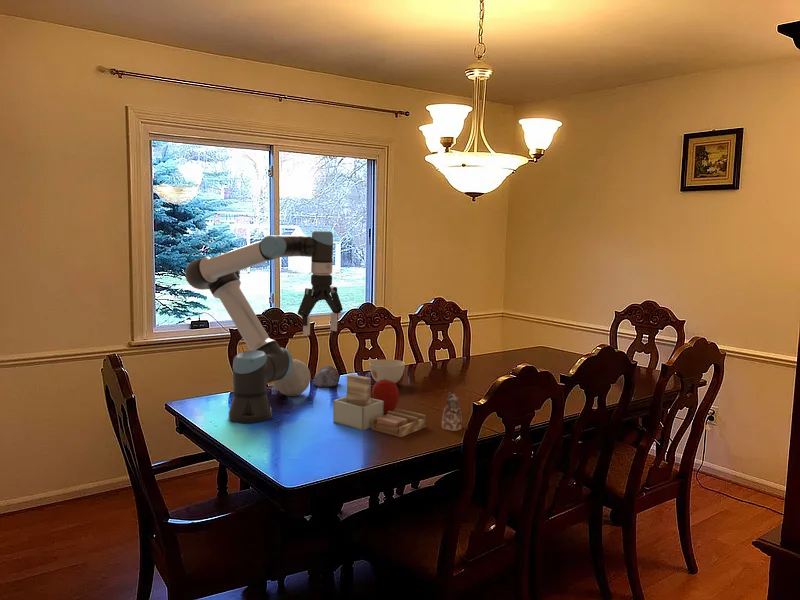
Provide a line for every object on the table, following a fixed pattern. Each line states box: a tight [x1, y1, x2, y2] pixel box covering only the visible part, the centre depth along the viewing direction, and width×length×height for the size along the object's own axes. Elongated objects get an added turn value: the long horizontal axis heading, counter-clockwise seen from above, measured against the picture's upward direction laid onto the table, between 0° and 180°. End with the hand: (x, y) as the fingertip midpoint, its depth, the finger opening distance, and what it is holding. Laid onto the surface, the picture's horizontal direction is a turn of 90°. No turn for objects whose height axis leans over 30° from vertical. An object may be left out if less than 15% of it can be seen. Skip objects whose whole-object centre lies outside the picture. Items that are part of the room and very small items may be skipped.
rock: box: [312, 365, 340, 388], centre depth 273 cm, size 11×10×10 cm
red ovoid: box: [371, 377, 400, 415], centre depth 231 cm, size 10×10×14 cm
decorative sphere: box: [273, 358, 311, 397], centre depth 255 cm, size 15×15×15 cm
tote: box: [332, 396, 384, 431], centre depth 219 cm, size 11×14×8 cm
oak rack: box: [370, 407, 427, 438], centre depth 214 cm, size 14×13×4 cm
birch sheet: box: [346, 373, 372, 407], centre depth 219 cm, size 2×9×16 cm, turn 52°
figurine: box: [441, 391, 463, 432], centre depth 215 cm, size 7×7×12 cm
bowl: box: [368, 358, 406, 384], centre depth 274 cm, size 16×16×10 cm
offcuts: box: [376, 414, 409, 433], centre depth 212 cm, size 7×10×3 cm
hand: (320, 332), depth 225 cm, fingers open, 13 cm apart
